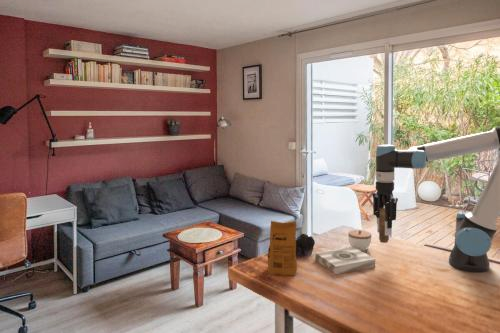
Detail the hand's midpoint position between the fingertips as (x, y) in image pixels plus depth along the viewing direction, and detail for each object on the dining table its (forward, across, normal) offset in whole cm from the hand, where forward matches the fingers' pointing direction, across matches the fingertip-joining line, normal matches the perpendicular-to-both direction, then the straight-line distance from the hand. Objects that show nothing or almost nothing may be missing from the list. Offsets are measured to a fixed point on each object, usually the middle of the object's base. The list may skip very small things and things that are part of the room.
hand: (384, 233), depth 163 cm
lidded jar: (+13, -18, 0) cm, 22 cm away
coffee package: (+13, -9, -46) cm, 48 cm away
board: (+13, -6, -16) cm, 22 cm away
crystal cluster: (+13, -24, -29) cm, 40 cm away
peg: (+4, 0, 0) cm, 4 cm away
